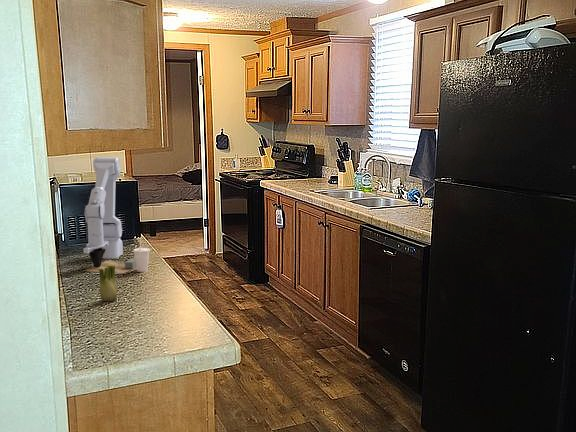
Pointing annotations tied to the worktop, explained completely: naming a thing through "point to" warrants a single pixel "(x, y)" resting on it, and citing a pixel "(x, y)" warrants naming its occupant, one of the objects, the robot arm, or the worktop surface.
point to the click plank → (104, 265)
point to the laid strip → (122, 269)
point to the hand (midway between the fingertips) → (97, 266)
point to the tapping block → (130, 263)
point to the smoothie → (141, 258)
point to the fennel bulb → (108, 283)
